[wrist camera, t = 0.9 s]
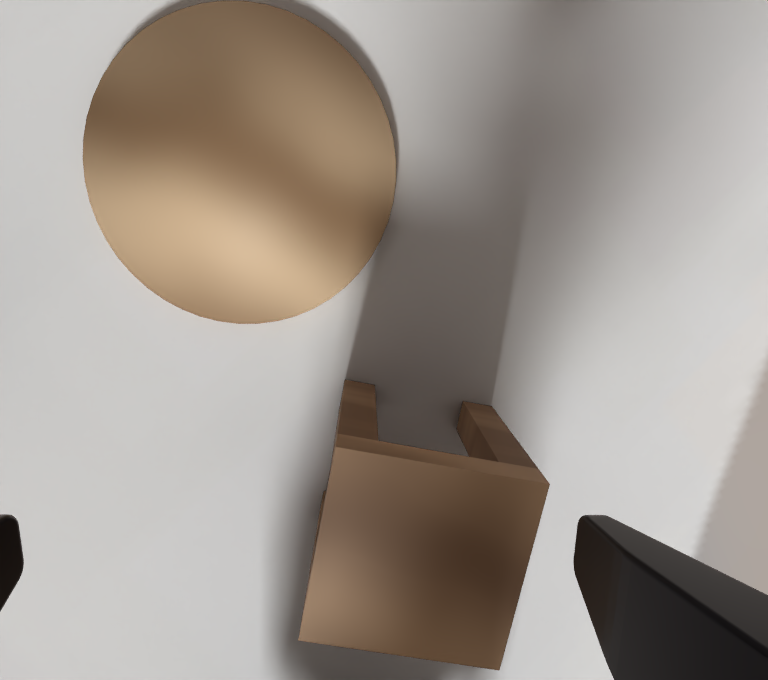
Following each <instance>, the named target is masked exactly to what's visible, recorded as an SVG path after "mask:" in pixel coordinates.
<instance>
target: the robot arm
mask: <svg viewBox="0 0 768 680" xmlns="http://www.w3.org/2000/svg"><path fill="white" fill-rule="evenodd" d="M23 564H24V559H23V552H22V545H21V538H20V531H19V525H18V521H17V519H16V518H15V517H14V516H12V515H0V611H1V609H2V608H3V606H4V604H5V603H6V601H7V599H8V598H9V596H10V594H11V592H12V591H13V589H14V587H15V586H16V584H17V582H18V581H19V579H20V576H21V574H22V571H23ZM574 571H575V575H576V578H577V581H578V584H579V587H580V590H581V592H582V595H583V598H584V601H585V604H586V607H587V609H588V612H589V615H590V618H591V621H592V623H593V626H594V629H595V632H596V635H597V637H598V640H599V643H600V646H601V649H602V651H603V654H604V657H605V659H606V662H607V664H608V667H609V669H610V671H611V673H612V676H613V678H614V680H768V595H766V594H764V593H762V592H760V591H758V590H756V589H754V588H752V587H750V586H748V585H746V584H744V583H742V582H740V581H738V580H736V579H734V578H732V577H730V576H728V575H726V574H724V573H722V572H720V571H718V570H716V569H714V568H712V567H710V566H708V565H705V564H704V563H702V562H700V561H698V560H696V559H694V558H692V557H690V556H687V555H685V554H683V553H681V552H679V551H677V550H675V549H673V548H671V547H669V546H667V545H665V544H663V543H661V542H659V541H657V540H655V539H653V538H651V537H649V536H647V535H645V534H643V533H641V532H639V531H637V530H635V529H633V528H631V527H629V526H627V525H625V524H623V523H621V522H619V521H617V520H615V519H613V518H611V517H609V516H606V515H584V516H582V517H581V518H580V519H579V522H578V526H577V535H576V544H575V553H574Z"/></svg>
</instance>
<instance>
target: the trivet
mask: <svg viewBox="0 0 768 680" xmlns="http://www.w3.org/2000/svg"><path fill="white" fill-rule="evenodd" d="M83 166H84V176H85V183H86V187H87V192H88V196H89V201H90V204H91V206H92V209H93V212H94V215H95V217H96V220H97V223H98V225H99V227H100V228H101V230H102V232H103V234H104V236H105V238H106V240H107V242H108V243H109V245H110V246H111V248H112V249H113V251H114V252H115V254H116V255H117V257H118V258H119V259H120V260H121V262H122V263H123V264H124V265H125V266H126V267H127V269H128V270H129V271H130V272H131V273H132V274H133V275H134V276H135V277H136V278H137V279H138V280H139V281H140V282H142V283H143V284H144V285H145V286H146V287H147V288H148V289H150V290H151V291H153V292H154V293H155V294H157V295H158V296H160V297H161V298H162V299H164V300H166V301H168V302H169V303H171V304H173V305H175V306H177V307H179V308H181V309H183V310H185V311H188V312H190V313H193V314H195V315H198V316H201V317H205V318H209V319H213V320H217V321H222V322H230V323H238V324H258V323H266V322H273V321H279V320H283V319H286V318H290V317H294V316H297V315H299V314H302V313H304V312H306V311H309V310H311V309H314V308H315V307H317V306H319V305H320V304H322V303H324V302H326V301H327V300H329V299H331V298H332V297H333V296H334V295H336V294H337V293H338V292H340V291H341V290H342V289H343V288H345V287H346V286H347V285H348V284H349V283H350V282H351V281H352V280H353V279H354V278H355V277H356V276H357V275H358V274H359V272H360V271H361V270H362V269H363V267H364V266H365V265H366V263H367V262H368V261H369V259H370V258H371V256H372V254H373V253H374V251H375V249H376V247H377V246H378V244H379V242H380V240H381V238H382V235H383V233H384V230H385V228H386V226H387V223H388V220H389V216H390V212H391V209H392V205H393V200H394V192H395V184H396V157H395V149H394V141H393V136H392V132H391V129H390V125H389V121H388V117H387V115H386V112H385V110H384V107H383V105H382V102H381V99H380V97H379V96H378V94H377V92H376V90H375V88H374V86H373V84H372V83H371V81H370V79H369V78H368V76H367V75H366V74H365V72H364V71H363V69H362V68H361V67H360V65H359V64H358V62H357V61H356V60H355V59H354V58H353V57H352V56H351V55H350V54H349V53H348V51H347V50H346V49H345V48H344V47H343V46H342V45H341V44H340V43H338V42H337V41H336V40H335V39H334V38H332V37H331V36H330V35H329V34H328V33H326V32H325V31H324V30H322V29H320V28H319V27H317V26H316V25H314V24H312V23H311V22H309V21H308V20H306V19H304V18H302V17H299V16H297V15H295V14H293V13H291V12H288V11H286V10H283V9H280V8H276V7H273V6H270V5H266V4H261V3H254V2H248V1H216V2H208V3H201V4H197V5H194V6H190V7H187V8H183V9H180V10H178V11H175V12H173V13H171V14H169V15H166V16H164V17H162V18H160V19H159V20H157V21H156V22H154V23H152V24H151V25H149V26H148V27H146V28H145V29H143V30H142V31H141V32H140V33H138V34H137V35H136V36H135V37H134V38H133V39H132V40H130V41H129V42H128V43H127V44H126V45H125V46H124V48H123V49H122V50H121V51H120V52H119V53H118V54H117V56H116V57H115V58H114V59H113V61H112V62H111V64H110V65H109V67H108V68H107V70H106V72H105V73H104V75H103V76H102V78H101V80H100V82H99V85H98V87H97V89H96V91H95V93H94V96H93V98H92V102H91V105H90V108H89V112H88V115H87V119H86V125H85V132H84V138H83Z"/></svg>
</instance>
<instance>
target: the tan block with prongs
mask: <svg viewBox="0 0 768 680" xmlns="http://www.w3.org/2000/svg"><path fill="white" fill-rule="evenodd" d="M456 429H457V432H458V434H459V436H460V438H461V440H462V442H463V444H464V446H465V448H466V451H467V453H468V455H469V457H467V456H462V455H456V454H450V453H445V452H439V451H433V450H428V449H422V448H416V447H411V446H405V445H399V444H393V443H388V442H382V441H378V427H377V412H376V396H375V385H372V384H367V383H361V382H356V381H350V380H345V382H344V387H343V392H342V397H341V403H340V408H339V415H338V421H337V428H336V435H335V442H334V448H333V455H332V462H331V469H330V475H329V480H328V485H327V490H326V491H323V497H322V502H321V507H320V512H319V518H318V524H317V530H316V536H315V542H314V548H313V554H312V560H311V566H310V572H309V578H308V584H307V590H306V596H305V603H304V609H303V615H302V621H301V627H300V633H299V639H298V641H304V642H311V643H318V644H325V645H332V646H338V647H345V648H352V649H359V650H365V651H372V652H379V653H386V654H392V655H399V656H406V657H413V658H419V659H426V660H433V661H440V662H446V663H453V664H460V665H467V666H473V667H480V668H487V669H494V670H500V666H501V662H502V659H503V655H504V651H505V647H506V644H507V640H508V636H509V633H510V629H511V625H512V622H513V618H514V614H515V611H516V607H517V603H518V599H519V596H520V592H521V588H522V585H523V581H524V577H525V574H526V570H527V566H528V563H529V559H530V555H531V552H532V548H533V544H534V540H535V537H536V533H537V529H538V526H539V522H540V518H541V515H542V511H543V507H544V504H545V500H546V496H547V492H548V489H549V485H550V484H549V482H548V481H547V480H546V478H545V477H544V476H543V474H542V473H541V472H540V470H539V469H538V468H537V466H536V465H535V464H534V462H533V461H532V460H531V458H530V457H529V456H528V454H527V453H526V452H525V450H524V449H523V448H522V446H521V445H520V444H519V442H518V441H517V440H516V438H515V437H514V436H513V434H512V433H511V432H510V430H509V429H508V427H507V426H506V425H505V423H504V422H503V421H502V419H501V418H500V417H499V415H498V414H497V413H496V411H495V410H494V409H493V407H492V406H487V405H481V404H476V403H471V402H465V401H463V403H462V407H461V411H460V415H459V420H458V424H457V428H456Z"/></svg>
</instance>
